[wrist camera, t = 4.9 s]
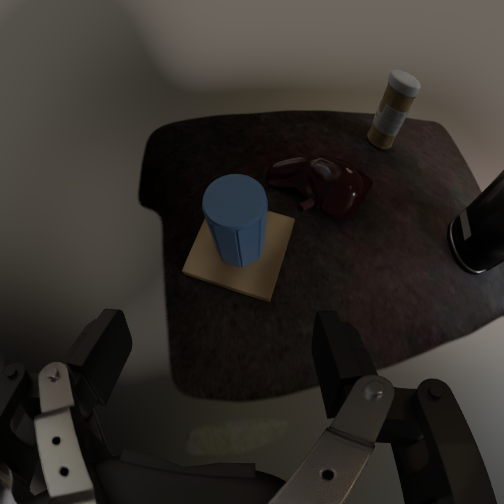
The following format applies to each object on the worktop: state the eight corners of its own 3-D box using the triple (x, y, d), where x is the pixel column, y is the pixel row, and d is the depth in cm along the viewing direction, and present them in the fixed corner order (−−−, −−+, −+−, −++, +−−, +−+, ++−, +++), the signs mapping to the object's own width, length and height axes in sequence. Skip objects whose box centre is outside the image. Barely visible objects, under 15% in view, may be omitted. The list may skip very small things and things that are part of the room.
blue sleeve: (269, 230, 31) (273, 182, 22) (255, 272, 29) (254, 234, 21) (226, 217, 31) (216, 168, 23) (209, 257, 30) (192, 216, 21)
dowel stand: (293, 223, 32) (305, 176, 24) (269, 302, 29) (275, 277, 20) (216, 201, 34) (204, 152, 25) (184, 274, 30) (158, 240, 22)
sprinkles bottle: (371, 127, 39) (395, 65, 27) (394, 141, 38) (423, 81, 26) (362, 140, 38) (388, 73, 26) (387, 155, 37) (419, 91, 25)
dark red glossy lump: (362, 214, 36) (335, 234, 28) (293, 177, 41) (251, 185, 33) (380, 173, 32) (359, 179, 24) (306, 138, 37) (264, 136, 29)
